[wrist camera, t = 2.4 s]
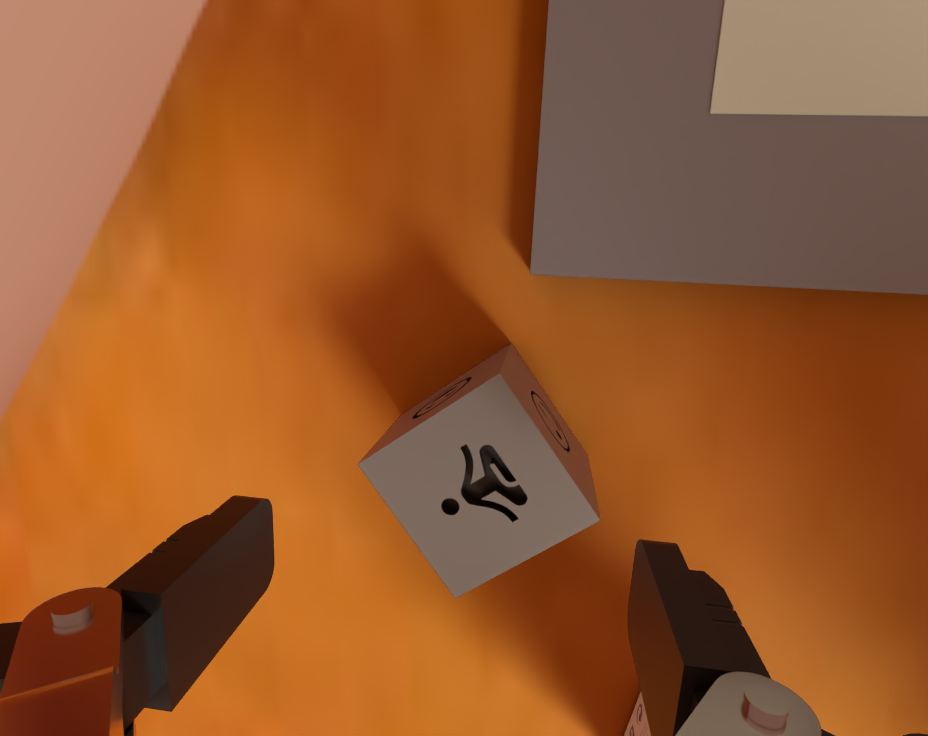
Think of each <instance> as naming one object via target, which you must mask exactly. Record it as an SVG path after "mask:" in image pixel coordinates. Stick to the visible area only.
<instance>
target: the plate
mask: <svg viewBox="0 0 928 736" xmlns="http://www.w3.org/2000/svg"><path fill="white" fill-rule="evenodd" d="M530 275H549V276H568V277H588V278H607V279H627V280H647V281H666V282H686V283H706V284H725V285H745V286H764V287H784V288H804V289H823V290H843V291H863V292H882V293H902V294H921V295H928V0H549V4H548V19H547V34H546V48H545V63H544V77H543V92H542V107H541V121H540V136H539V150H538V165H537V180H536V194H535V209H534V223H533V238H532V252H531V267H530Z"/></svg>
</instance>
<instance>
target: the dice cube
mask: <svg viewBox="0 0 928 736" xmlns="http://www.w3.org/2000/svg"><path fill="white" fill-rule="evenodd" d="M358 466H359V467H360V468H361V470H362V471H363V472H364V474H365V475H366V477H367V478H368V479H369V481H370V482H371V483H372V485H373V486H374V488H375V489H376V490H377V492H378V493H379V494H380V496H381V497H382V499H383V500H384V501H385V503H386V504H387V506H388V507H389V508H390V510H391V511H392V512H393V514H394V515H395V517H396V518H397V519H398V521H399V522H400V523H401V525H402V526H403V528H404V529H405V530H406V532H407V533H408V534H409V536H410V537H411V539H412V540H413V541H414V543H415V544H416V545H417V547H418V548H419V550H420V551H421V552H422V554H423V555H424V556H425V558H426V559H427V561H428V562H429V563H430V565H431V566H432V568H433V569H434V570H435V572H436V573H437V574H438V576H439V577H440V579H441V580H442V581H443V583H444V584H445V585H446V587H447V588H448V590H449V591H450V592H451V594H452V595H453V596H454V598H457V597H459V596H461V595H462V594H464V593H466V592H468V591H470V590H472V589H474V588H476V587H477V586H479V585H481V584H483V583H485V582H487V581H489V580H490V579H492V578H494V577H496V576H498V575H500V574H502V573H503V572H505V571H507V570H509V569H511V568H513V567H515V566H517V565H518V564H520V563H522V562H524V561H526V560H528V559H530V558H531V557H533V556H535V555H537V554H539V553H541V552H543V551H544V550H546V549H548V548H550V547H552V546H554V545H556V544H558V543H559V542H561V541H563V540H565V539H567V538H569V537H571V536H572V535H574V534H576V533H578V532H580V531H582V530H584V529H585V528H587V527H589V526H591V525H593V524H595V523H597V522H599V521H600V516H599V511H598V505H597V500H596V495H595V490H594V484H593V479H592V474H591V469H590V464H589V458H588V455H587V453H586V452H585V451H584V449H583V448H582V446H581V445H580V443H579V442H578V440H577V439H576V437H575V436H574V434H573V433H572V431H571V430H570V428H569V427H568V425H567V424H566V422H565V421H564V420H563V418H562V417H561V415H560V414H559V412H558V411H557V409H556V408H555V406H554V405H553V403H552V402H551V400H550V399H549V397H548V396H547V394H546V393H545V391H544V390H543V389H542V387H541V386H540V384H539V383H538V381H537V380H536V378H535V377H534V375H533V374H532V372H531V371H530V369H529V368H528V366H527V365H526V363H525V362H524V360H523V359H522V358H521V356H520V355H519V353H518V352H517V350H516V349H515V347H514V346H513V344H512V343H510V344H509V345H507V346H506V347H504V348H503V349H501V350H499V351H498V352H496V353H495V354H493V355H492V356H490V357H489V358H487V359H486V360H484V361H483V362H481V363H480V364H478V365H477V366H475V367H473V368H472V369H470V370H469V371H467V372H466V373H464V374H463V375H461V376H460V377H458V378H457V379H455V380H454V381H452V382H451V383H449V384H448V385H446V386H444V387H443V388H441V389H440V390H438V391H437V392H435V393H434V394H432V395H431V396H429V397H428V398H426V399H425V400H423V401H422V402H420V403H418V404H417V405H415V406H414V407H412V408H411V409H409V410H408V411H406V412H405V413H403V414H402V415H401V416H400V417H399V418H398V419H397V420H396V421H395V422H394V424H393V425H392V426H391V427H390V428H389V429H388V430H387V431H386V433H385V434H384V435H383V436H382V437H381V438H380V439H379V441H378V442H377V443H376V444H375V445H374V446H373V447H372V448H371V450H370V451H369V452H368V453H367V454H366V455H365V456H364V458H363V459H362V460H361V461H360V462H359V463H358Z"/></svg>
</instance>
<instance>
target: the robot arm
mask: <svg viewBox="0 0 928 736" xmlns="http://www.w3.org/2000/svg"><path fill="white" fill-rule="evenodd" d="M273 570H274V538H273V512H272V505H271V502H270V501H269V500H268V499H264V498H255V497H246V496H232V497H231V498H230V499H229V500H227V501H226V502H225V503H224V504H222V505H221V506H220V507H219V508H218V509H216V510H215V511H214V512H213V513H212V514H210V515H205V516H203V517H201V518H199V519H197V520H194V521H192V522H190V523H188V524H186V525H184V526H182V527H181V528H180V529H179V530H177V531H176V532H175V533H174V534H172V535H171V536H170V537H169V538H167V541H166V542H162V543H161V544H160V545H159V546H157V547H156V548H155V549H154V550H153V552H152V553H149V554H147V555H146V556H145V557H144V558H142V559H141V560H140V561H139V562H137V563H136V564H135V565H133V566H132V567H131V568H130V569H128V570H127V571H126V572H125V573H123V574H122V575H121V576H120V577H118V578H117V579H116V580H115V581H113V582H112V583H111V584H110V585H108V586H107V587H106V588H102V587H91V588H83V589H78V590H74V591H70V592H67V593H64V594H61V595H58V596H56V597H54V598H51V599H50V600H48V601H46V602H44V603H42V604H41V605H39V606H37V607H36V608H35V609H33V610H32V611H31V612H30V613H29V614H28V615H27V616H26V617H25V618H24V620H23V621H22V622H14V623H3V624H0V736H136V724H135V718H136V717H137V716H138V714H139V713H140V712H141V711H142V710H143V709H144V708H151V709H157V710H163V711H170V712H172V710H173V709H174V708H175V706H176V705H177V704H178V703H179V701H180V700H181V699H182V698H183V696H184V695H185V694H186V692H187V691H188V690H189V689H190V687H191V686H192V685H193V683H194V682H195V681H196V680H197V678H198V677H199V676H200V675H201V673H202V672H203V671H204V669H205V668H206V667H207V666H208V664H209V663H210V662H211V660H212V659H213V658H214V657H215V655H216V654H217V653H218V651H219V650H220V649H221V648H222V646H223V645H224V644H225V643H226V641H227V640H228V639H229V637H230V636H231V635H232V634H233V632H234V631H235V630H236V628H237V627H238V626H239V625H240V623H241V622H242V621H243V620H244V618H245V617H246V616H247V614H248V613H249V612H250V611H251V609H252V608H253V607H254V605H255V604H256V603H257V602H258V600H259V599H260V598H261V596H262V595H263V594H264V593H265V591H266V590H267V588H268V586H269V584H270V581H271V578H272V575H273ZM628 635H629V640H630V645H631V649H632V654H633V658H634V663H635V667H636V671H637V676H638V680H639V685H640V689H641V693H642V698H643V702H644V707H645V711H646V715H647V720H648V724H649V729H650V733H651V736H835V735H832V734H830V733H828V732H826V731H824V730H822V729H821V726H820V723H819V720H818V718H817V716H816V715H815V713H814V712H813V710H812V709H811V708H810V706H809V705H808V704H807V703H806V702H805V701H804V700H803V699H802V698H800V697H799V696H798V695H797V694H796V693H794V692H793V691H792V690H790V689H789V688H787V687H785V686H784V685H782V684H780V683H778V682H776V681H774V680H772V679H771V677H770V675H769V673H768V672H767V670H766V668H765V666H764V664H763V662H762V660H761V658H760V656H759V655H758V653H757V651H756V649H755V647H754V645H753V643H752V641H751V640H750V638H749V636H748V634H747V632H746V630H745V628H744V627H742V623H741V621H740V619H739V617H738V615H737V613H736V611H733V606H732V604H731V602H730V600H729V598H728V596H727V594H726V592H725V591H724V589H723V588H722V587H721V586H720V585H719V584H718V583H717V582H715V581H714V580H713V579H712V578H711V577H710V576H709V575H708V574H706V573H705V572H704V571H695V570H689V569H688V567H687V564H686V562H685V560H684V558H683V556H682V553H681V551H680V549H679V547H678V545H677V544H676V543H668V542H658V541H649V540H638V542H637V545H636V549H635V556H634V564H633V572H632V580H631V587H630V595H629V603H628ZM903 736H928V735H927V734H919V733H918V734H907V735H903Z"/></svg>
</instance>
